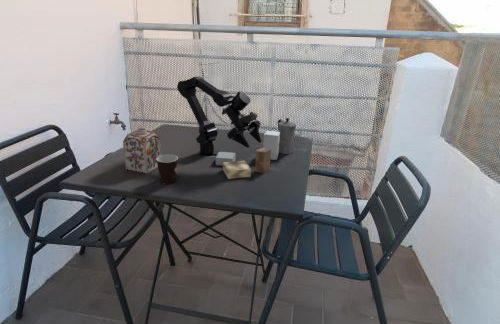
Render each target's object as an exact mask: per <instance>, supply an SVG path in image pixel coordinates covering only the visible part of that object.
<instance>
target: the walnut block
mask: <svg viewBox="0 0 500 324" xmlns="http://www.w3.org/2000/svg"><path fill="white" fill-rule="evenodd" d="M270 155H271V150H270V149H266V148H263V147H261V148H258V149H256V150H255V164H254V165H255V170H254V171H255V172H257V173H260V174H262V175H264V174H265V173H268V172H269V171H270V170H271V169H270V168H271V159H270Z"/></svg>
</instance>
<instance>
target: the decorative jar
mask: <svg viewBox="0 0 500 324" xmlns="http://www.w3.org/2000/svg"><path fill="white" fill-rule="evenodd" d="M122 145H123V156H124V164H125V169H126V170H127V169H128V170H127V171H131V170H132V171H133V172H136V171H137V173H142V172H143V173H142V174H149V173H151V172H152V171H154V170H156V169H157V168H158V165H157V161H156V158H157V157H159V156H162V155H163V154H162V145H161V137H160V136H159V135H158V134H157V133H156V132H154V131H153V130H147V128H145V127H139V128H135V129H134V130H133V131H131V132H128V133H127V134H126V136H125V138H124V139H123V141H122Z"/></svg>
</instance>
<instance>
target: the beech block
mask: <svg viewBox="0 0 500 324" xmlns="http://www.w3.org/2000/svg"><path fill="white" fill-rule="evenodd" d="M222 171H223V172H224V174H225V176H226V178H227V179H228V180H232V179H241V178H251V176H252V169H251V167H250V165H249V164H248V163H247V162H246V161H245V160H235V161H234V162H223V165H222Z"/></svg>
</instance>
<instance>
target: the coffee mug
mask: <svg viewBox="0 0 500 324" xmlns="http://www.w3.org/2000/svg"><path fill="white" fill-rule="evenodd" d="M156 161H157V165H158V167H157V168H158V174H159V181H160V183H161V182H162V183H161V184H163V183H165V184H164V185H172V184H175V183H176V182H177V180H178V177H177V176H178V165H179V164H178V163H179V157H178V156H177V155H175V154H162V156H159V157H157V158H156ZM174 182H175V183H174ZM171 183H172V184H171Z"/></svg>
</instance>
